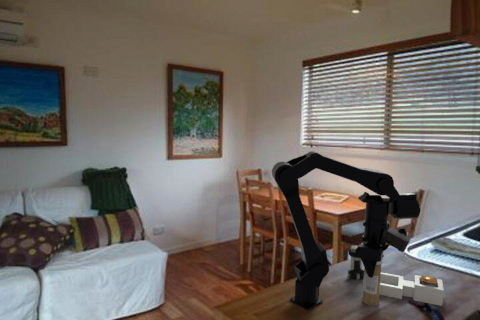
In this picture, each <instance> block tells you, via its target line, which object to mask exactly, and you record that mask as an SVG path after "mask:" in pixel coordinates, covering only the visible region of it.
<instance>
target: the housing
mask: <svg viewBox="0 0 480 320" xmlns="http://www.w3.org/2000/svg"><path fill="white" fill-rule="evenodd" d="M421 276H422V275H417V274H414V279H413V280H414V281H413V280H408V279H407V280H406V279H404V276H403V275H398V274H393V273H386V272H382V271H381V278H380V293H379V296H385V297H390V298H395V299H400V300H402V299H403V296H404V297H408V298H411V299H412V298H413V301H414V302H415V301H416V302H421V303H426V304H430V305H434V306H435V305H436V306H440V307H443V303H444V291H445V290H444V284H443V280H442V279H440V278H436V279H437V283H436V287H433V286H428V285H423V284H421Z"/></svg>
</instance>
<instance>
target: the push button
mask: <svg viewBox="0 0 480 320" xmlns="http://www.w3.org/2000/svg"><path fill="white" fill-rule="evenodd" d="M358 245H359V244H358ZM358 245H356V244H355V245H354V244H353V245H351V246H350V247H348V249H347V251H348V255H349V256H350V267H349V269H347V273H346V274H344V276H345V277H343V278H344V279H349V280H351V281H354V280H360V279H361V280H364V269H362V268H363V267H362V264H363V262H362V260H361V258H358V257H356V256H355V251H356V248H357V247H358Z"/></svg>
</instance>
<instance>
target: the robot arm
mask: <svg viewBox="0 0 480 320" xmlns="http://www.w3.org/2000/svg"><path fill="white" fill-rule="evenodd" d="M316 169H317V170H321V171H324V172H327V173H329V174H332V175H335V176H338V177H341V178H343V179H346V180H349V181H352V182H355V183H357V184H359V185H360V186H362V187H363V188H366V189H368V190H369V191H371V192H373V193H375V194H370V193H369V192H367V191H364V192H363V194H361V195H360V196H358V198H357V199H358V200H359V201H360V202H362V203H364V204H365V212H364V213H365V214H364V216H365V217H364V221H363V222H362V227H364V231H363V235H362V237H361V241H362V242H361V243H360V244H358V247H357V248H356V251H355V256H356V257H358V258H361V260H362V264H363V266H364V267H365V270H366V272H367V275H368V277H370V278H373V275H374V272H375V268H376V264H377V262H380V261H381V260H382V261H383V259H384V257H385V255H384V251H387V249H389V246H391V247H393V248H395V249H397V251H399V252H401V253H404V252H405V251H406V249H407V248H408V245H409V243H410V241H411V239H412V238H411V236H410V235H408V230H407V228H405V227H403V226H401V227H399V228H398V229H396V228H393V227H391V226H390V225H391V223H390V222H389V215H390V216H391V217H392V218H393V219H395V220H396V219H397V220H398V219H400V220H401V219H404V220H405V219H406V220H408V219H410V220H411V219H412V220H414V219H415V220H416V219H418V218H419V216H420V214H421V207H420V203H419V201H418V195H417V193H414V192H407V193H404V192H403V193H400V192H399V191H398V190H397V189H396V187H395V181H394V178H393V177H392V176H391V175H390V174H388V173H386V172H383V171H381V170H378V169H373V168H365V167H364V168H363V167H358V166H354V165H351V164H348V163H345V162H342V161H340V160H336V159H334V158H331V157H328V156H325V155H322V154H320V153H318V152H316V151H313V150H312V151H309V152H307V153H305V154H303V155H300V156H298V157H295V158H292V159H289V160H288V161H279V162H276V163H275V164H274V165H273V167H272V168H271V174H272V175H271V176H272V177H273V180H274V182H275V183H276V186H277V187H278V188H279V190H280V192H281V193H282V195H283V197H284V199H285V202H286V205H287V208H288V211H289V214H290V217H291V220H292V222H293V224H294V228H295V231H296V234H297V236H298V240H299V242H300V254H301V258H302V259H301V260H300V261H298V262H297V263H296V264H295V265H294V270H295V274H296V275H297V277H296V280H295V283H294V284H295V286H294V287H295V288H294V296H292V297H290V299H289V301H292V302H293V303H295V304H297V305H299V306H300V307H303V308H304V309H306V310H310V309H312V308H314V307H317V306H318V305H320V304H322V303H324V300H323V299H322V298H320V287H321V285H322V282H323V280H324V278H325V277H326V276H327V275H328V273H330V266H331V262H330V260H329V259H328V254H327V250H326V249H325V247H324V246H323V244H322V243H321V242H320V241H319V242H318V243H316V240H315V237H314V234H313V230H312V228H311V225H310V221H309V219H308V216H307V213H306V211H305V208H304V205H303V202H302V199H301V197H300V183H299V179H301V178H303V177H305V176H306V175H307V174H309V173H310V172H312V171H314V170H316ZM383 196H385V197H383Z"/></svg>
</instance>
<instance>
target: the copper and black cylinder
mask: <svg viewBox="0 0 480 320" xmlns="http://www.w3.org/2000/svg"><path fill="white" fill-rule="evenodd" d="M420 276H421V284H423V285H428V286H433V287H436V283H437V279H438V278H436V277H435V276H433V275H427V274H423V275H420Z"/></svg>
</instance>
